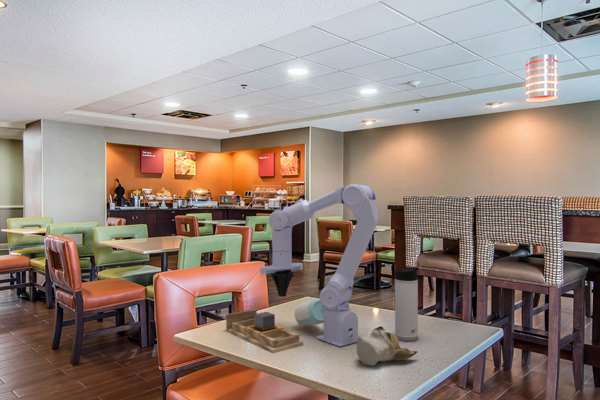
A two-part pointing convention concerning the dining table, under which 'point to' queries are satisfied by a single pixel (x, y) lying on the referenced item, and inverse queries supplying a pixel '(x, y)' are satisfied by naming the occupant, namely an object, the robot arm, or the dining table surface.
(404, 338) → the travel mug
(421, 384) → the dining table surface
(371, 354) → the ceramic sculpture
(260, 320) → the grey block
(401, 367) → the dining table surface
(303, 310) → the can
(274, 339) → the tray
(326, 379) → the dining table surface
